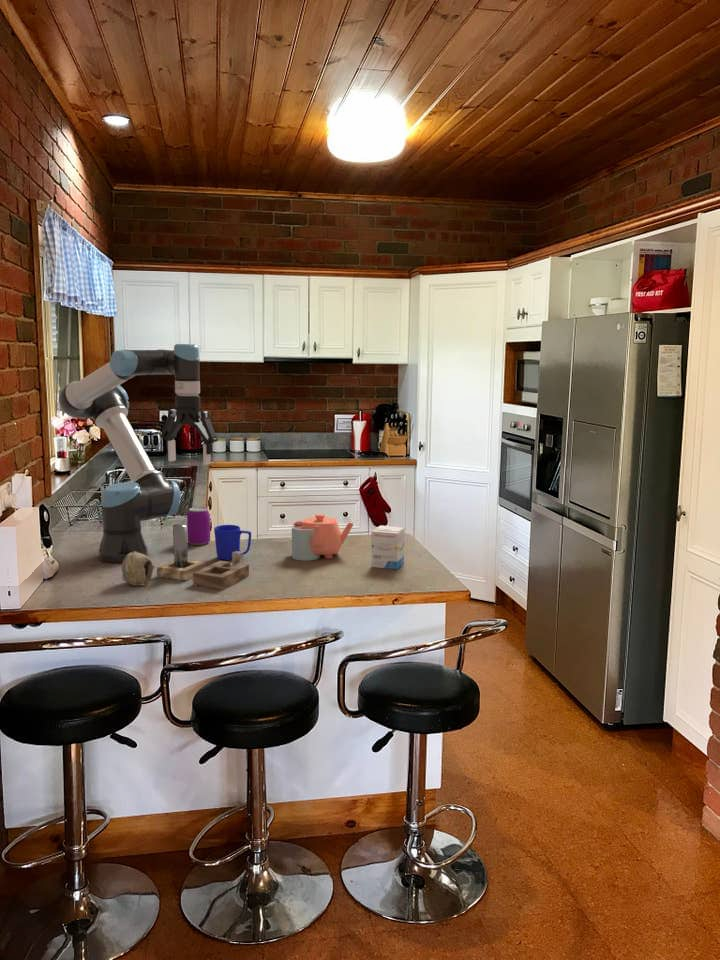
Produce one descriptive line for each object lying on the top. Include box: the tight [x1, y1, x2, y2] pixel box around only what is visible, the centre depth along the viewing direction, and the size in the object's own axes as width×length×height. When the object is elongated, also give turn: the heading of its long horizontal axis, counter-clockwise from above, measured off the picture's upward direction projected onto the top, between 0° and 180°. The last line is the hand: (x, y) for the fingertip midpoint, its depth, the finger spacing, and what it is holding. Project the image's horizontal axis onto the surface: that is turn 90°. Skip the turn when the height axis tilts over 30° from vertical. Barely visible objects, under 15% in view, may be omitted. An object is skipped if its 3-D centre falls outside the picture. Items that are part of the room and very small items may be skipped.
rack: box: [156, 559, 206, 582], centre depth 229 cm, size 10×10×3 cm
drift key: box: [229, 550, 245, 568], centre depth 229 cm, size 8×3×6 cm, turn 158°
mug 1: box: [213, 524, 252, 561], centre depth 245 cm, size 8×12×10 cm
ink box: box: [371, 525, 406, 570], centre depth 240 cm, size 9×8×12 cm
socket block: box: [192, 560, 250, 590], centre depth 223 cm, size 14×10×4 cm
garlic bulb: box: [121, 551, 155, 586], centre depth 220 cm, size 9×8×10 cm
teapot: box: [292, 513, 354, 560], centre depth 250 cm, size 16×17×14 cm
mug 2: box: [291, 524, 321, 561], centre depth 248 cm, size 14×9×10 cm
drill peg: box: [172, 523, 189, 569], centre depth 228 cm, size 4×4×15 cm
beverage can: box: [186, 506, 211, 546], centre depth 263 cm, size 8×8×12 cm
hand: (189, 462), depth 240 cm, fingers open, 13 cm apart
